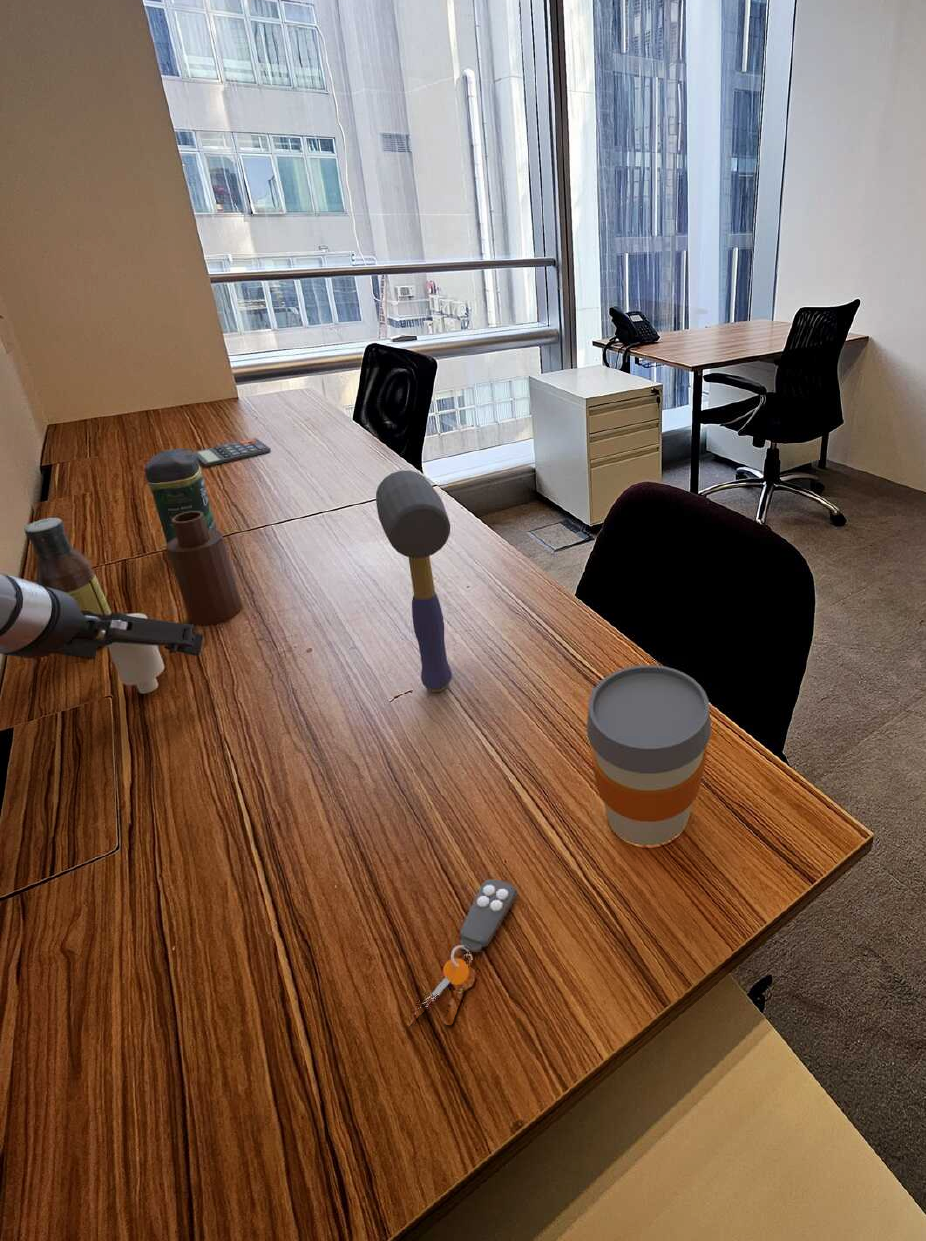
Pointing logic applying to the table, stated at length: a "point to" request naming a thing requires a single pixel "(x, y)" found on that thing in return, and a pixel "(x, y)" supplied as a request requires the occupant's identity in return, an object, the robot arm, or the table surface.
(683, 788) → the reusable coffee cup
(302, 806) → the table surface
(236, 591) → the bottle
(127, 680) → the bung
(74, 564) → the sauce bottle
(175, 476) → the coffee jar
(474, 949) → the key chain
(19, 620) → the robot arm
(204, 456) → the calculator
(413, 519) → the rubber mallet
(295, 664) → the table surface
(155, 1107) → the table surface
